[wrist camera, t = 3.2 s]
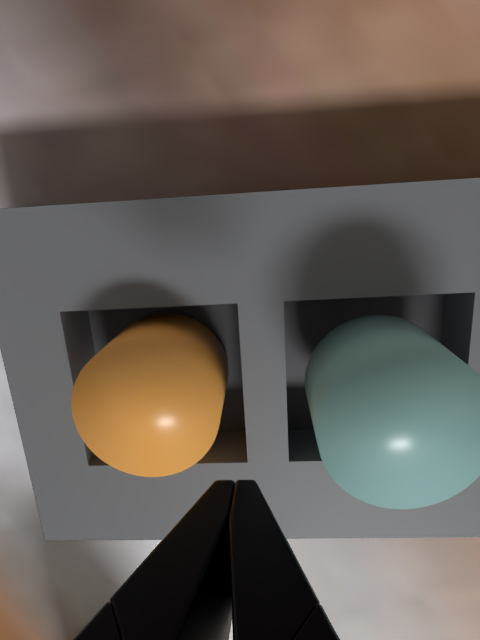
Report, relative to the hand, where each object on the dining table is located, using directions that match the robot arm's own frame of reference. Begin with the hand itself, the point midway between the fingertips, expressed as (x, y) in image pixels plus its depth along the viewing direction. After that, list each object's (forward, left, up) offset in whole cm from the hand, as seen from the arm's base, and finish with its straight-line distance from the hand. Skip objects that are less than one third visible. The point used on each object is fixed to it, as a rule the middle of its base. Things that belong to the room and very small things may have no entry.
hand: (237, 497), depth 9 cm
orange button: (+3, 0, -7) cm, 7 cm away
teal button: (-4, 0, -5) cm, 7 cm away
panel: (-4, 0, -8) cm, 9 cm away
